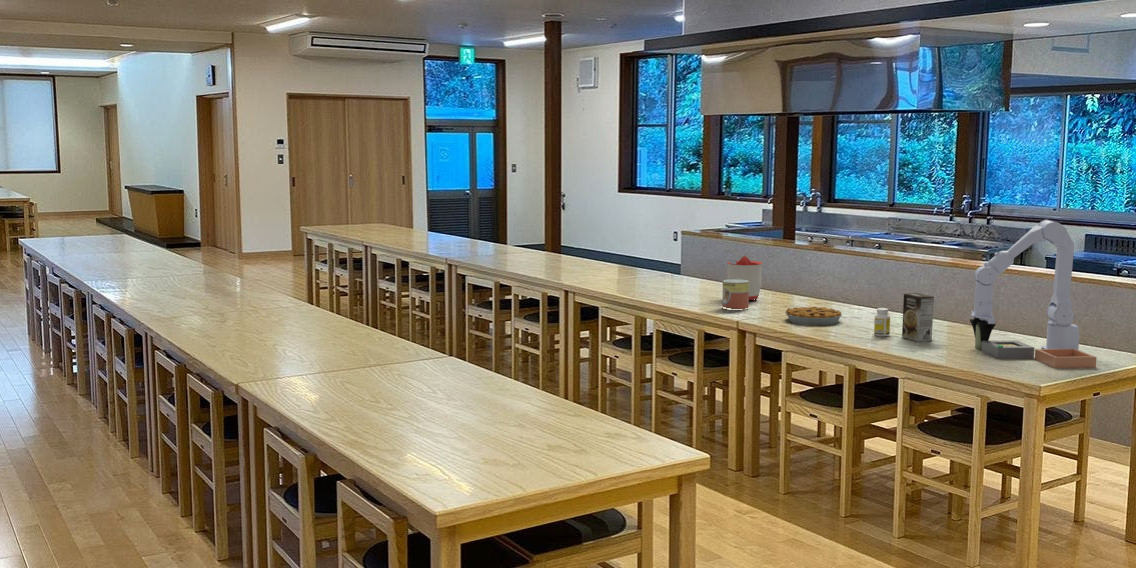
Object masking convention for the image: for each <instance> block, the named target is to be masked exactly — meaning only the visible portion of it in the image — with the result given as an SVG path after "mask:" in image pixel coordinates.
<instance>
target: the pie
mask: <svg viewBox="0 0 1136 568" xmlns="http://www.w3.org/2000/svg"><path fill="white" fill-rule="evenodd" d="M785 315H786V316H787V318H788V319H789V322H791V321H792V322H791V323H793V322H794V323H793V324H797V323H798V324H797V325H803V324H805V325H807V326H827V325H828V326H830V324H831V325H836V324H837V323H839V320H840V319H841V317H842V316H843V315H842V312H841V311H840V310H835V309H834V308H827V307H825V306H824V307H822V306H821V307H817V306H810V307H809V306H808V307H806V306H805V307H804V306H803V307H798V306H797V307H793V308H790V307H789V308H787V309H786V311H785Z"/></svg>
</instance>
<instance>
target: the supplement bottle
mask: <svg viewBox="0 0 1136 568" xmlns="http://www.w3.org/2000/svg"><path fill="white" fill-rule="evenodd" d="M890 324H891V316H890V315H889V309H888V308H885V307H878V308H876V314H875V315H874V324H873V325H874V327H873V328H874V330H873V333H874V336H877V337H889V336H890V333H891V331H890V330H891V325H890Z"/></svg>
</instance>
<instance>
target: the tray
mask: <svg viewBox="0 0 1136 568" xmlns="http://www.w3.org/2000/svg"><path fill="white" fill-rule="evenodd" d="M1097 358H1098V357H1097V356H1095V355H1093V354H1090V353H1087V352H1084V351H1082V350H1080V349H1078V350H1077V349H1043V348H1035V349H1034V360H1035V361H1038V362H1040V361H1041V362H1040V363H1042V362H1043V364H1045V365H1047V366H1050V367H1051V368H1054V369H1070V368H1071V369H1072V368H1074V369H1076V368H1082V369H1083V368H1087V369H1088V368H1097Z"/></svg>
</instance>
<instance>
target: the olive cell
mask: <svg viewBox="0 0 1136 568" xmlns="http://www.w3.org/2000/svg"><path fill="white" fill-rule="evenodd" d="M974 339H975V341H974V348H975V349H976V350H982V342H981V339H980V329H979V326H978V324H976V337H975V336H974Z"/></svg>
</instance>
